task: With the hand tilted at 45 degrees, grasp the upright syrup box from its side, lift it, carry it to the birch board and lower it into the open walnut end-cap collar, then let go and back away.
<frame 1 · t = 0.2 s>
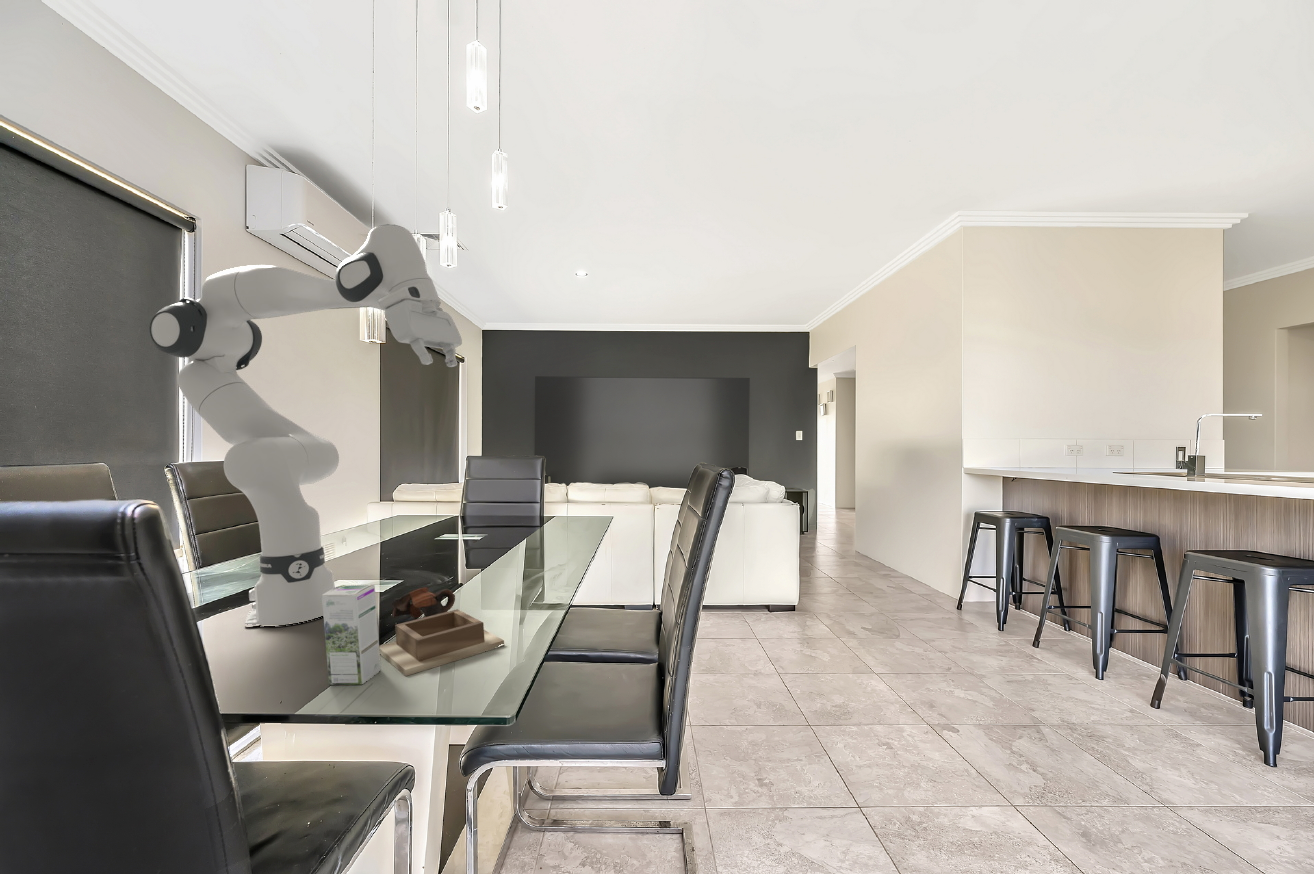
hand: (440, 364, 124), 52 cm above the table, tool tilted 20°, fingers open, 8 cm apart
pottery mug: (425, 624, 124), on the table
syrup box: (355, 679, 98), on the table
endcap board: (440, 648, 109), on the table
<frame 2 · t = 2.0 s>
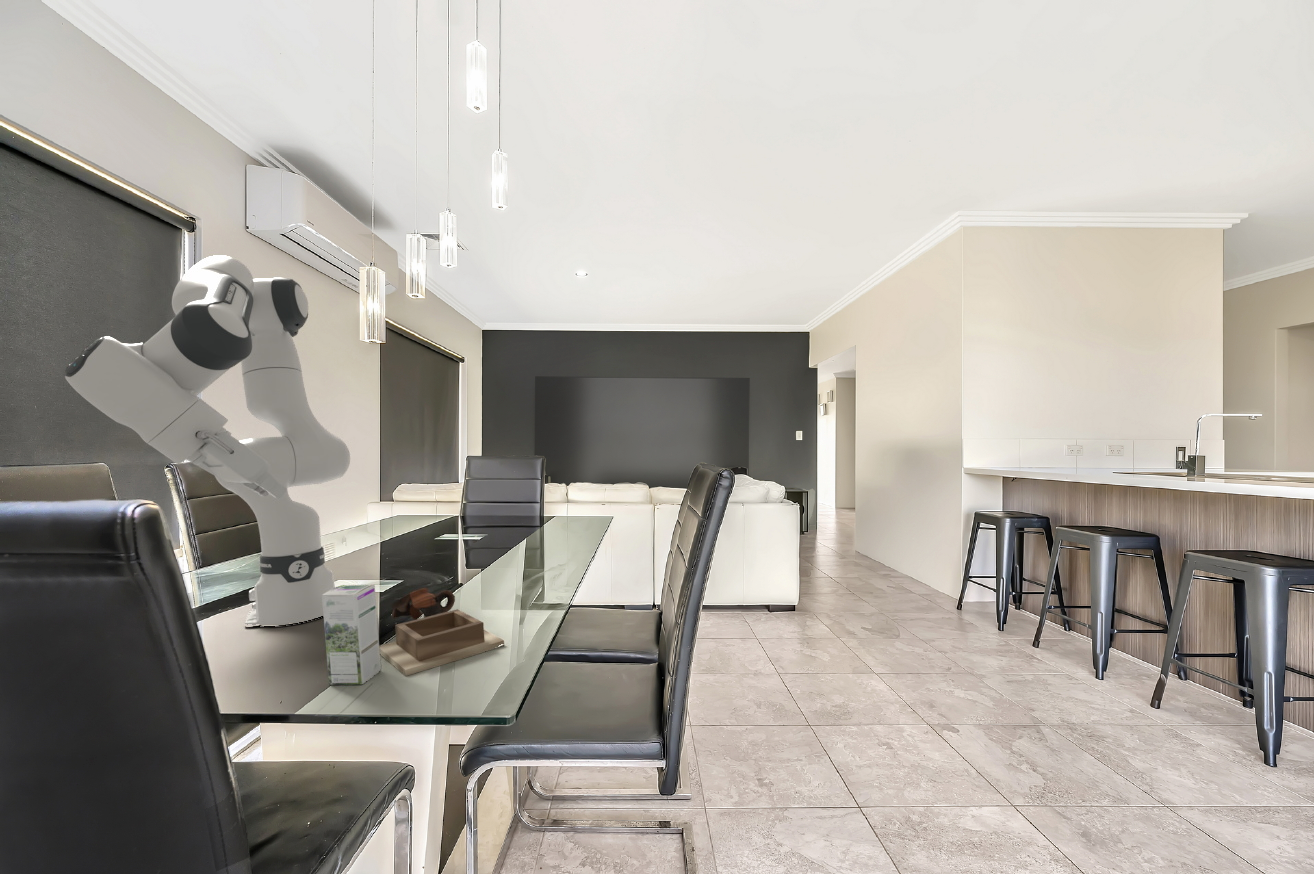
hand: (275, 493, 96), 30 cm above the table, tool tilted 45°, fingers open, 8 cm apart
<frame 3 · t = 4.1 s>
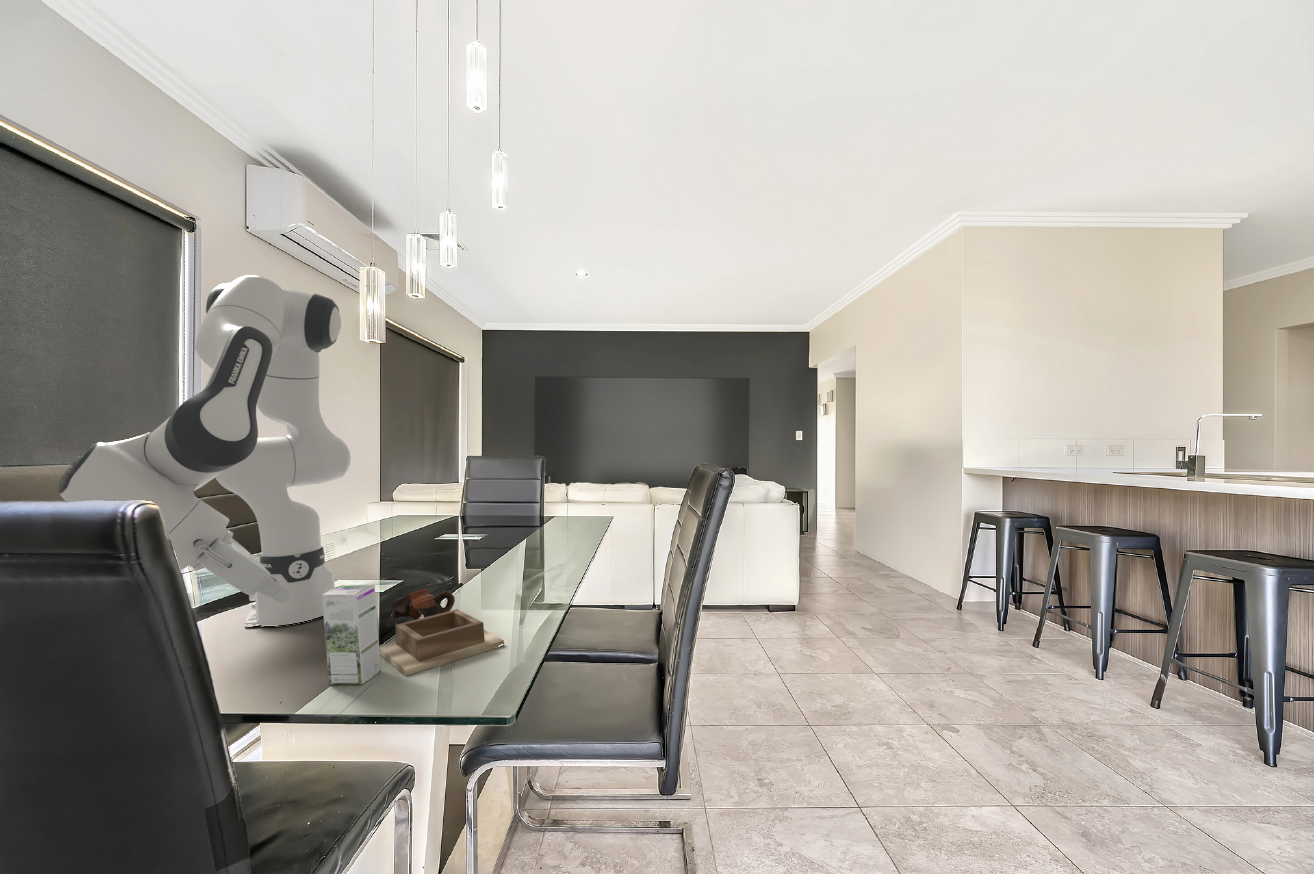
hand: (280, 591, 91), 16 cm above the table, tool tilted 45°, fingers open, 8 cm apart
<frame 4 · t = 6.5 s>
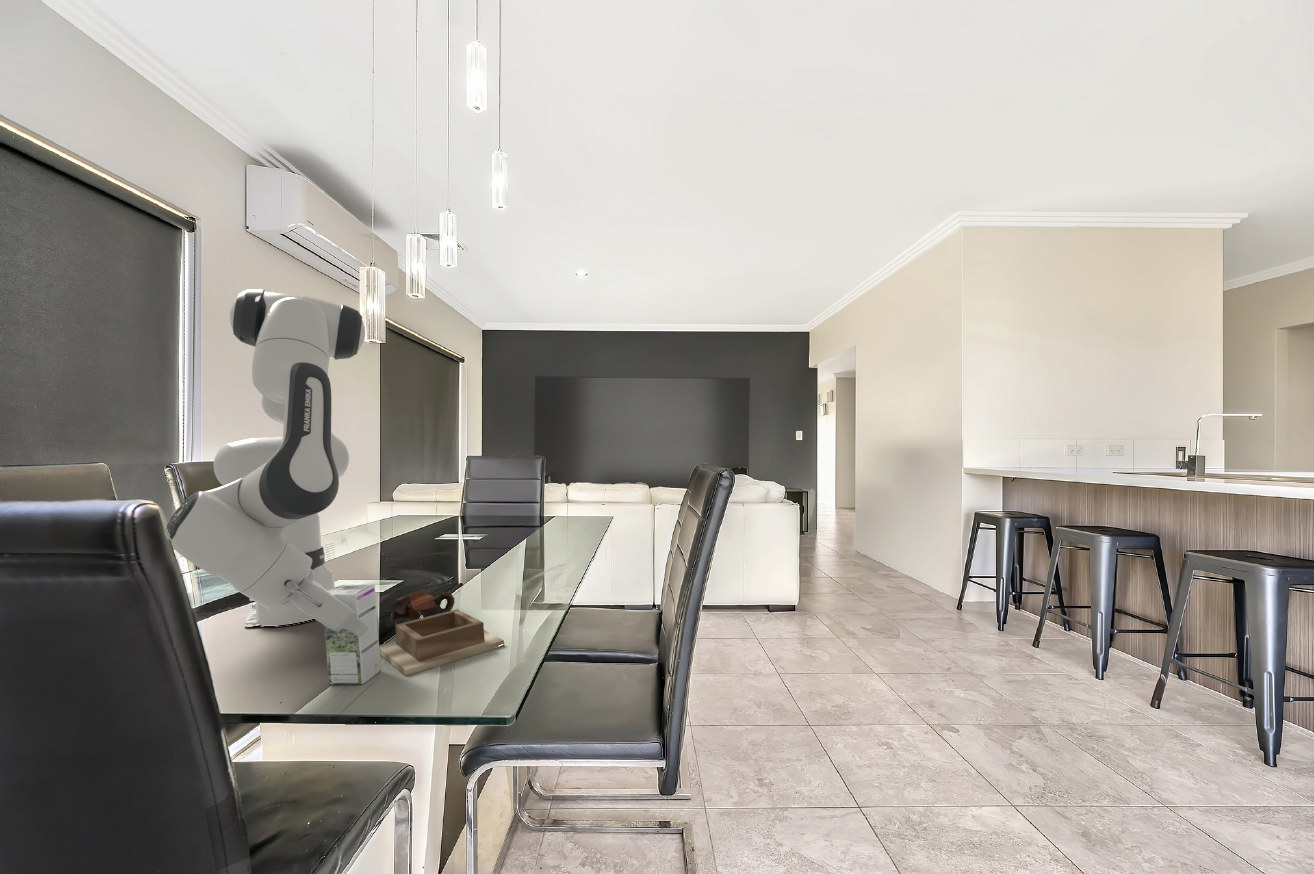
hand: (356, 624, 98), 8 cm above the table, tool tilted 45°, fingers closed on syrup box, 8 cm apart
syrup box: (355, 679, 98), on the table, touching gripper
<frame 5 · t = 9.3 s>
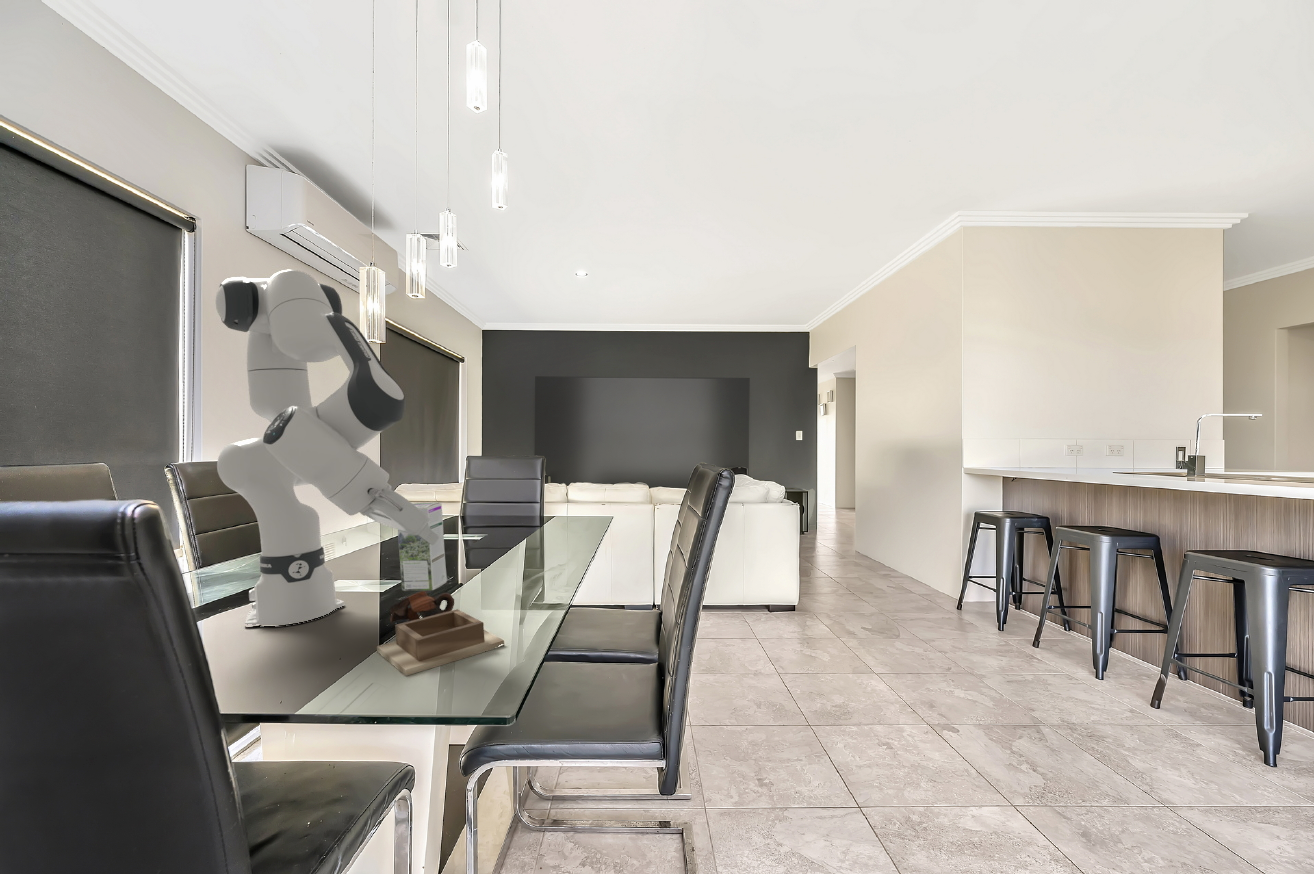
hand: (425, 537, 107), 20 cm above the table, tool tilted 45°, fingers closed on syrup box, 8 cm apart
syrup box: (424, 588, 107), point 11 cm above the table, touching gripper
when the fingers open (11 cm above the table, at t = 12.0 s): syrup box drops 1 cm, resting on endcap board.
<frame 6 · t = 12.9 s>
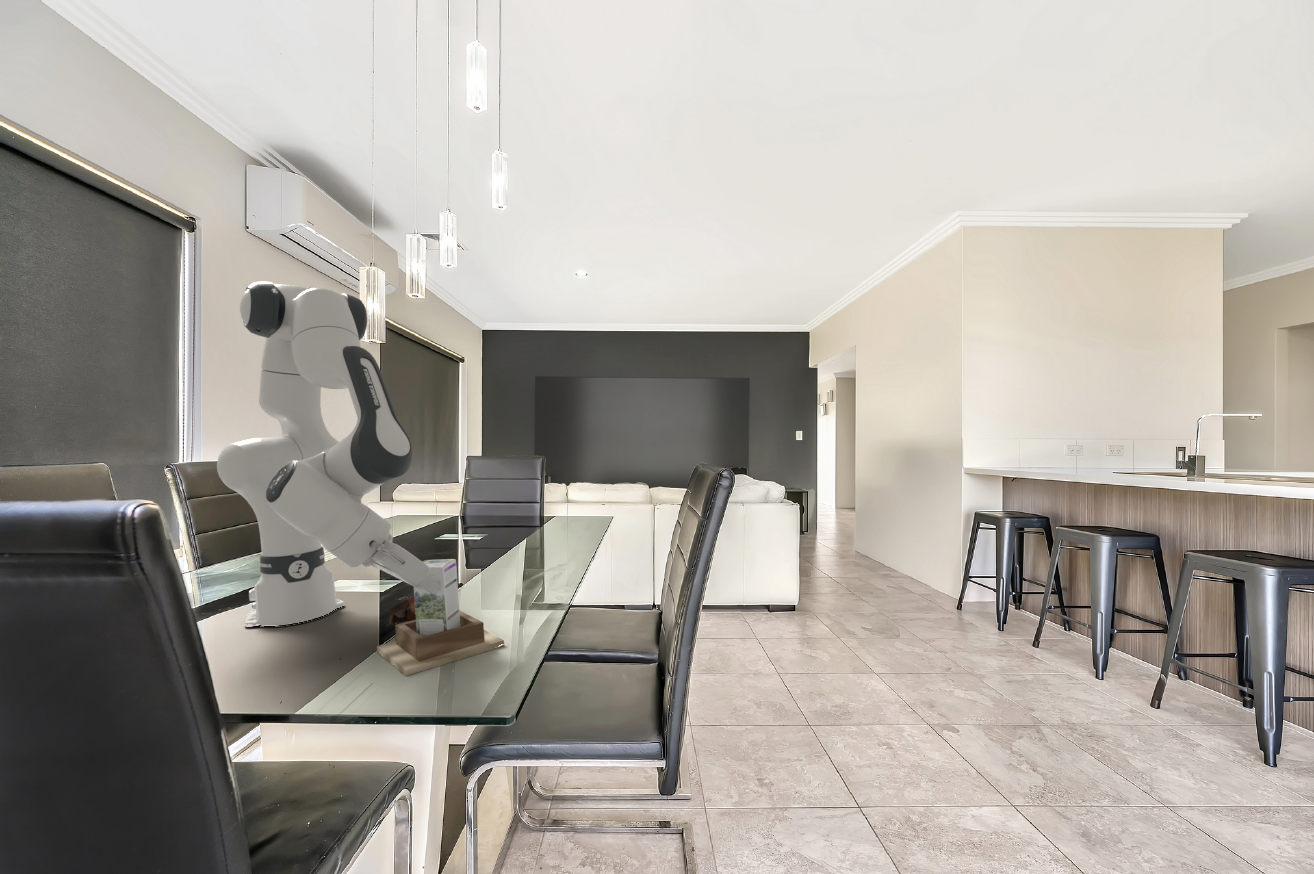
hand: (426, 585, 107), 12 cm above the table, tool tilted 45°, fingers open, 8 cm apart
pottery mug: (423, 631, 119), on the table
syrup box: (440, 644, 109), point 1 cm above the table, touching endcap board
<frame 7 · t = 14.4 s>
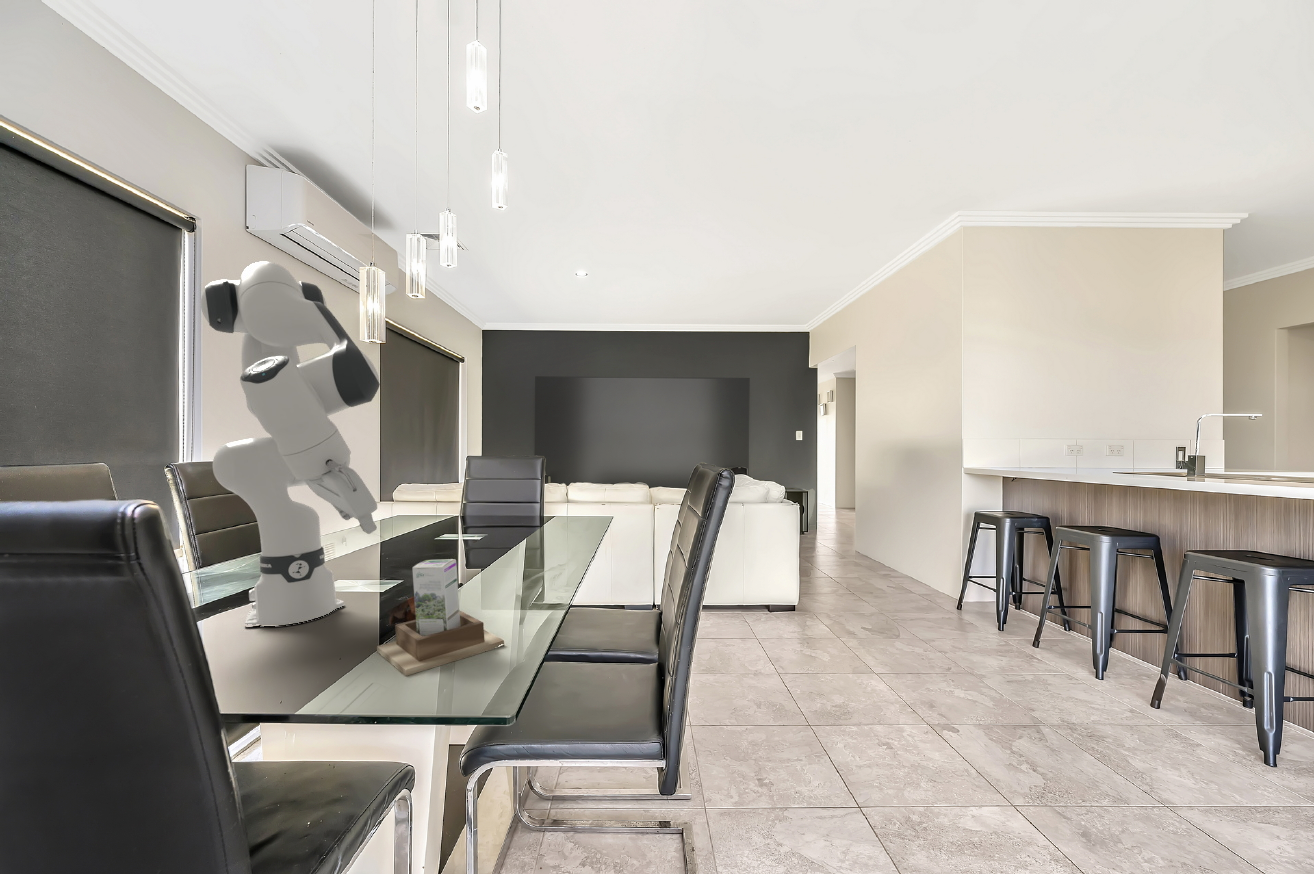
hand: (359, 524, 104), 23 cm above the table, tool tilted 30°, fingers open, 8 cm apart
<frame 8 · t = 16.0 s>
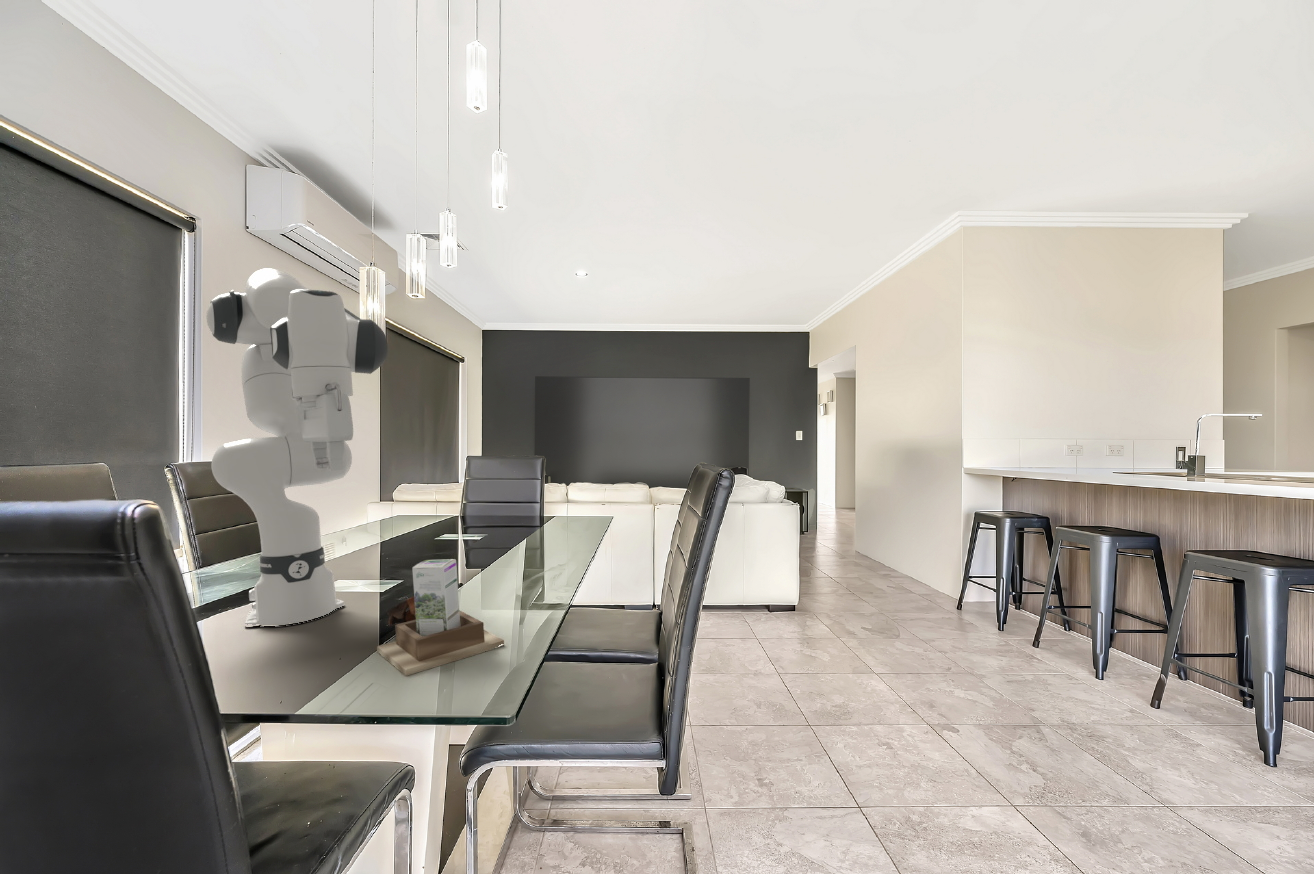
hand: (328, 469, 103), 33 cm above the table, tool pointing down, fingers open, 8 cm apart
nothing on the table moved.
at the end: syrup box 0.0 cm off-centre on the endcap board, point 0.8 cm above the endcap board's base; syrup box tilted 0°; the gripper is holding nothing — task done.
